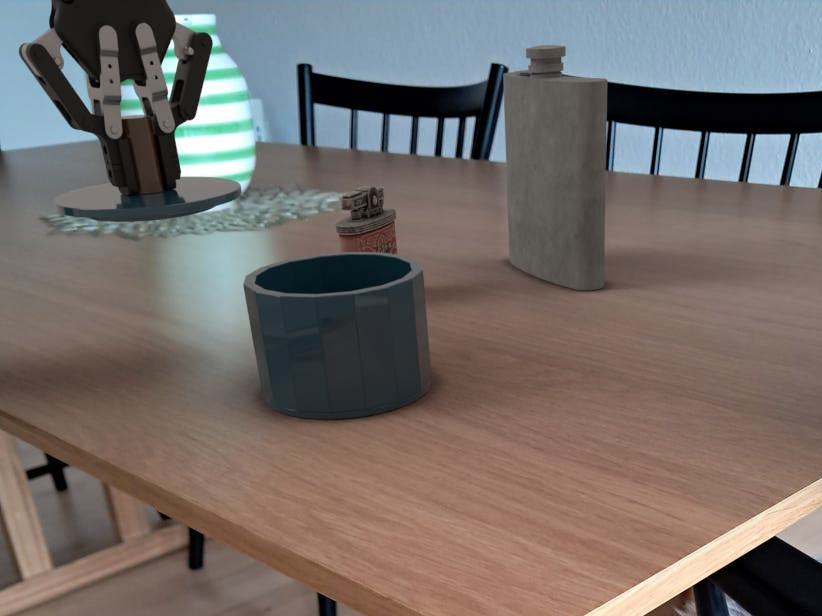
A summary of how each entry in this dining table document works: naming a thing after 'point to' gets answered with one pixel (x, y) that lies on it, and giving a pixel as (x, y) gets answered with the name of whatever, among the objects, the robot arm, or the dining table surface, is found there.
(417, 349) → the pot
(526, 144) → the hip flask
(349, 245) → the lighter
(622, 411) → the dining table surface
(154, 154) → the pot lid
